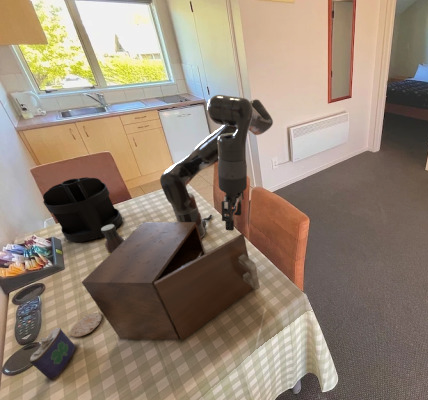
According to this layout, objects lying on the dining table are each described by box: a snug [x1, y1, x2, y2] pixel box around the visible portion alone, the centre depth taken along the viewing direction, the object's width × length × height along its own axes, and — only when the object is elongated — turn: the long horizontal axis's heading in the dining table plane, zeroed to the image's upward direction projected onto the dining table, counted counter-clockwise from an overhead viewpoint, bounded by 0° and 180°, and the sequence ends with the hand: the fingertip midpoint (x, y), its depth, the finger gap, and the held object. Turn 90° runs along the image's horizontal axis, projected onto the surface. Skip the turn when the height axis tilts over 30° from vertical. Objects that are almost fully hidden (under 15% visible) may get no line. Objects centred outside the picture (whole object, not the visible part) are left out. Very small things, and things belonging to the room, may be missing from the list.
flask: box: [29, 327, 77, 381], centre depth 70 cm, size 9×3×11 cm, turn 8°
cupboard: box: [81, 221, 207, 340], centre depth 84 cm, size 18×26×24 cm
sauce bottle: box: [101, 224, 125, 256], centre depth 98 cm, size 7×6×20 cm
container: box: [42, 176, 123, 243], centre depth 120 cm, size 22×23×25 cm
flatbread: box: [69, 312, 103, 338], centre depth 82 cm, size 8×8×1 cm
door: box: [154, 233, 261, 341], centre depth 78 cm, size 8×26×24 cm, turn 138°
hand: (234, 221), depth 81 cm, fingers open, 8 cm apart
